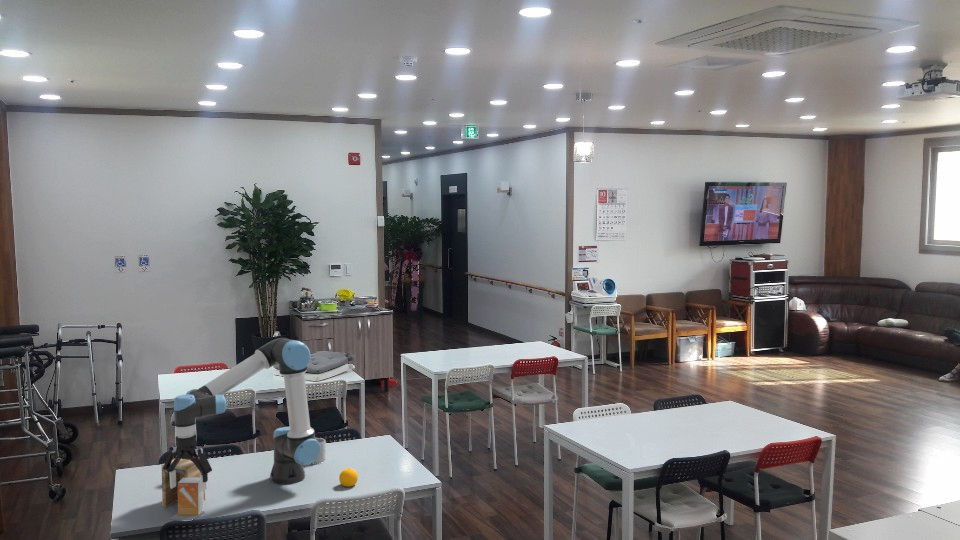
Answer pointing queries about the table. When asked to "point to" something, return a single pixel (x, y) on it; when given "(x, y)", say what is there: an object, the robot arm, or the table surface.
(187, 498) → the small box
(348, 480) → the yellow ball
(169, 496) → the dispenser
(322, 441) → the mug
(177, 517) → the pad
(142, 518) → the table surface
